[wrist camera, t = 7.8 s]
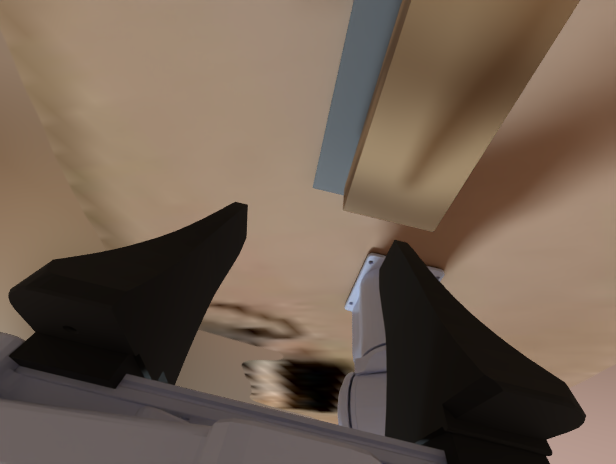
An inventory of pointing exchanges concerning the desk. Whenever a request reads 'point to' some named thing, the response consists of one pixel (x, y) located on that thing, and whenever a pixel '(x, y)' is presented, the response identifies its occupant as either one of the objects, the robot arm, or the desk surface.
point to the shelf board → (444, 101)
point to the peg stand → (354, 89)
